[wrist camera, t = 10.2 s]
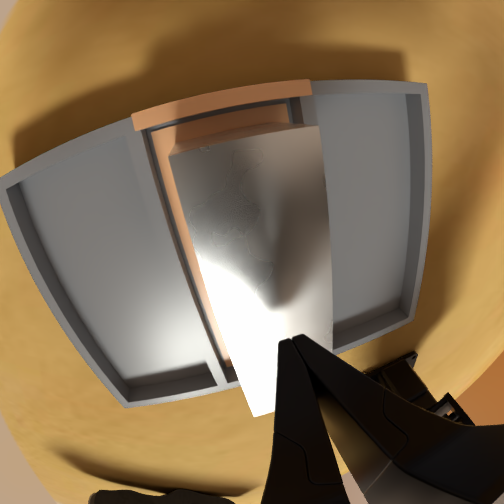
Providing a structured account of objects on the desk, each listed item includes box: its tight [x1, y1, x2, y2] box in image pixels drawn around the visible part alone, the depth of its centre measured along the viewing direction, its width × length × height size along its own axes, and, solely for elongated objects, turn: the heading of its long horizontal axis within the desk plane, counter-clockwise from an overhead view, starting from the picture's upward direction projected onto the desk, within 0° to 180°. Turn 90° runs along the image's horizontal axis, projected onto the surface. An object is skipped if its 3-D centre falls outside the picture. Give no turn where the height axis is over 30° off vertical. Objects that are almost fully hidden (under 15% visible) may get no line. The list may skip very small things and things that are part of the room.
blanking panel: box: [168, 122, 333, 417], centre depth 12 cm, size 12×4×4 cm, turn 11°
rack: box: [0, 79, 432, 408], centre depth 13 cm, size 15×20×3 cm
